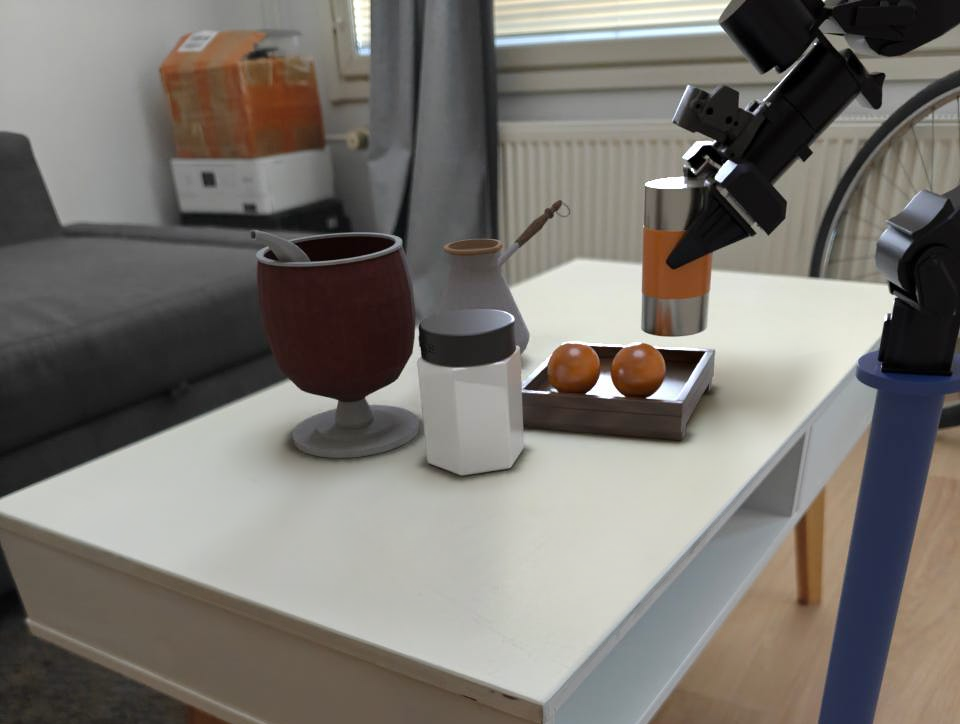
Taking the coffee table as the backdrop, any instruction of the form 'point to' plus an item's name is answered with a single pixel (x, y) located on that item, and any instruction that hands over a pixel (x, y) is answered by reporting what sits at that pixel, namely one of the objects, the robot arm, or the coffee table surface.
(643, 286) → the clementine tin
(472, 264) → the coffee pot
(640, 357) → the fruit tray
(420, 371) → the jar
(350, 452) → the mate gourd
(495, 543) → the coffee table surface
